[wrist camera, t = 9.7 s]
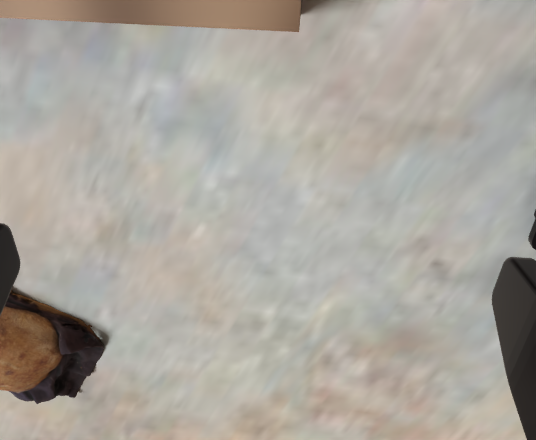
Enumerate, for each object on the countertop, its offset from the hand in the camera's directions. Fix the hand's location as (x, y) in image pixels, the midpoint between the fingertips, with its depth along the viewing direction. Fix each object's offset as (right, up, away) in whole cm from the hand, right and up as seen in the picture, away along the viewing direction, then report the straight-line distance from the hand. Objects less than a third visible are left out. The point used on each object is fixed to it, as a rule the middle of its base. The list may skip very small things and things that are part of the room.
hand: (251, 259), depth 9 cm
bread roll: (-15, -6, +22) cm, 28 cm away
